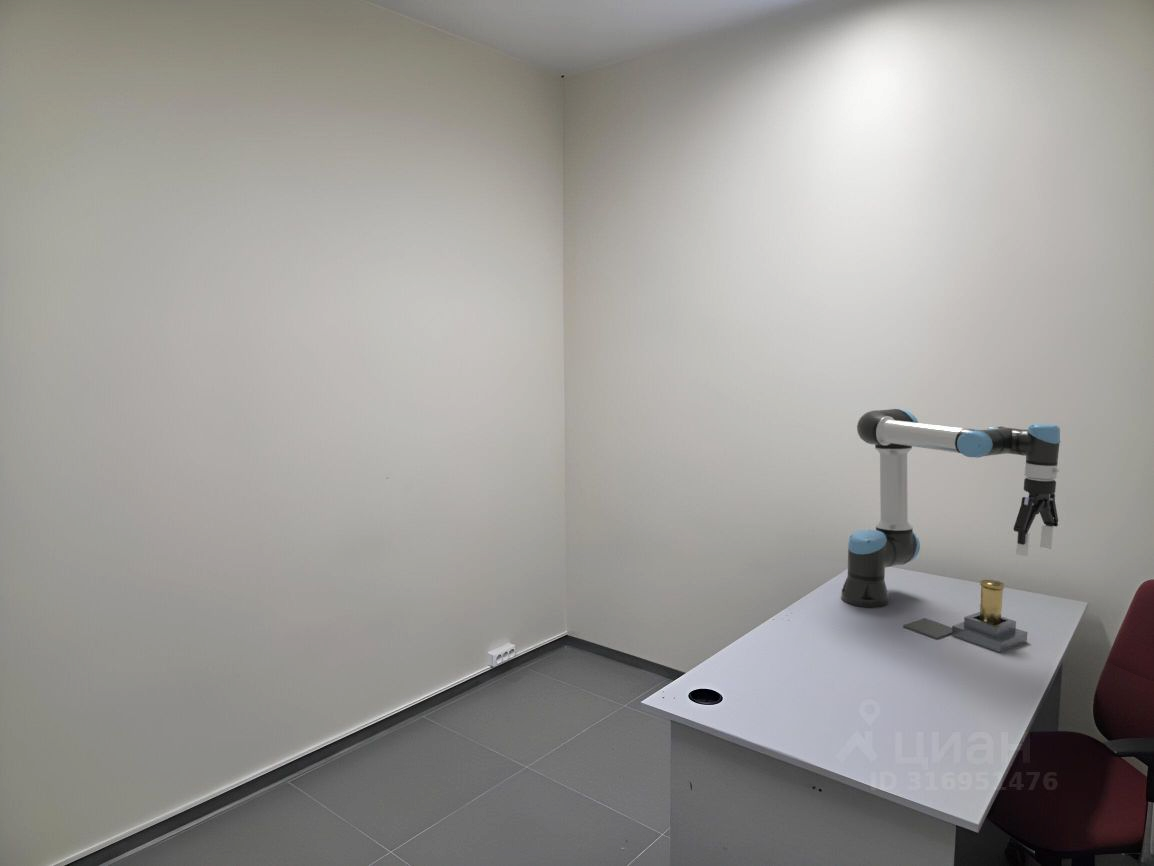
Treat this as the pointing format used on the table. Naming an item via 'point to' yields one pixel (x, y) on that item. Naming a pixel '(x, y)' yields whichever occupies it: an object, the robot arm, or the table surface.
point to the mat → (929, 628)
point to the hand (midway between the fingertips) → (1034, 551)
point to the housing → (990, 633)
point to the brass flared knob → (991, 601)
